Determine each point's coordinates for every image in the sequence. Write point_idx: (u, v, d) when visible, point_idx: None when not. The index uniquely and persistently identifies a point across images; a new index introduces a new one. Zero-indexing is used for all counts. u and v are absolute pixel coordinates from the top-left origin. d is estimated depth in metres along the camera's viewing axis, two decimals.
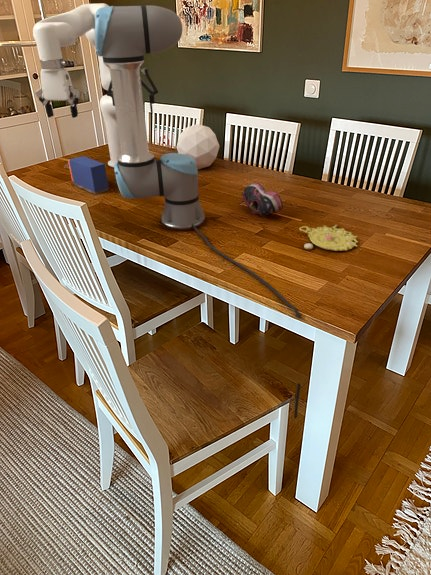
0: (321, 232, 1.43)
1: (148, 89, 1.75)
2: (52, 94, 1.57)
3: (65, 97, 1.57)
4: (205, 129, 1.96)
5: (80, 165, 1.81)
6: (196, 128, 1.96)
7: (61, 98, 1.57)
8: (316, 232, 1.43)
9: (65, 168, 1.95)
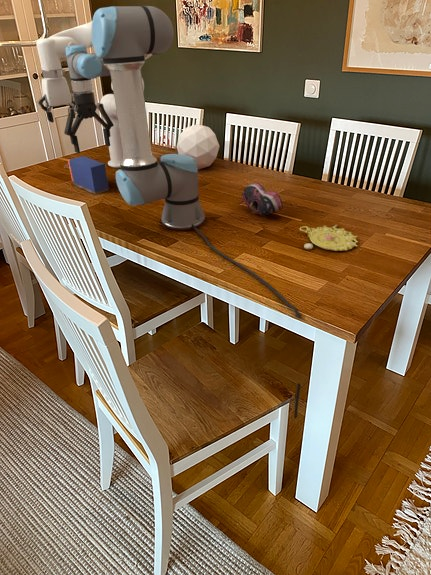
0: (321, 232, 1.43)
1: (105, 123, 1.76)
2: (58, 100, 1.77)
3: (69, 101, 1.80)
4: (205, 129, 1.96)
5: (80, 165, 1.81)
6: (196, 128, 1.96)
7: (65, 102, 1.79)
8: (316, 232, 1.43)
9: (65, 168, 1.95)
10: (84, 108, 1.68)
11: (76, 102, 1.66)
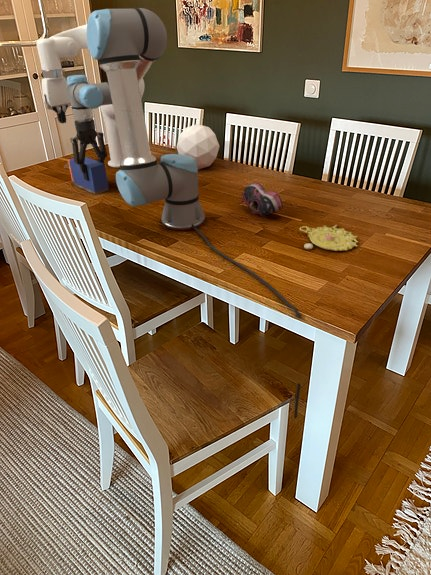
0: (321, 232, 1.43)
1: (100, 153, 1.80)
2: (58, 100, 1.78)
3: (69, 100, 1.81)
4: (205, 129, 1.96)
5: None
6: (196, 128, 1.96)
7: (65, 102, 1.80)
8: (316, 232, 1.43)
9: (65, 168, 1.95)
10: (85, 134, 1.72)
11: (77, 129, 1.70)
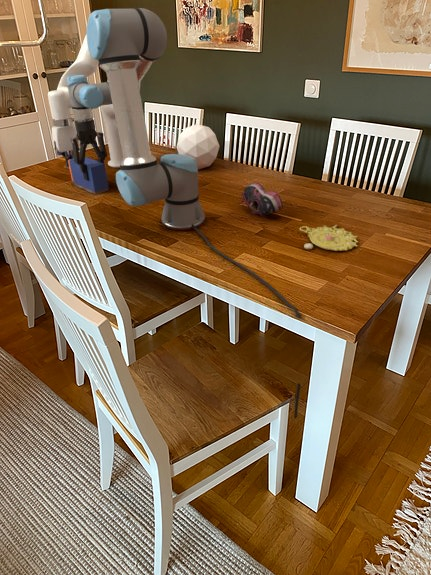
0: (321, 232, 1.43)
1: (100, 153, 1.80)
2: (66, 146, 1.87)
3: None
4: (205, 129, 1.96)
5: None
6: (196, 128, 1.96)
7: None
8: (316, 232, 1.43)
9: (65, 168, 1.95)
10: (85, 134, 1.72)
11: (77, 129, 1.70)
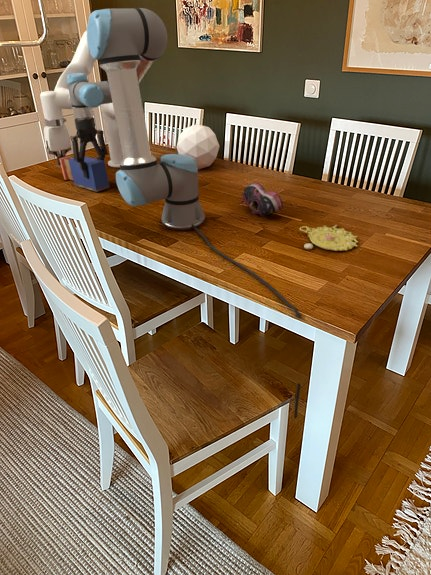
0: (321, 232, 1.43)
1: (100, 151, 1.80)
2: (58, 146, 1.91)
3: (69, 146, 1.95)
4: (205, 129, 1.96)
5: None
6: (196, 128, 1.96)
7: (65, 147, 1.94)
8: (316, 232, 1.43)
9: (57, 167, 1.99)
10: (85, 132, 1.73)
11: (77, 127, 1.70)
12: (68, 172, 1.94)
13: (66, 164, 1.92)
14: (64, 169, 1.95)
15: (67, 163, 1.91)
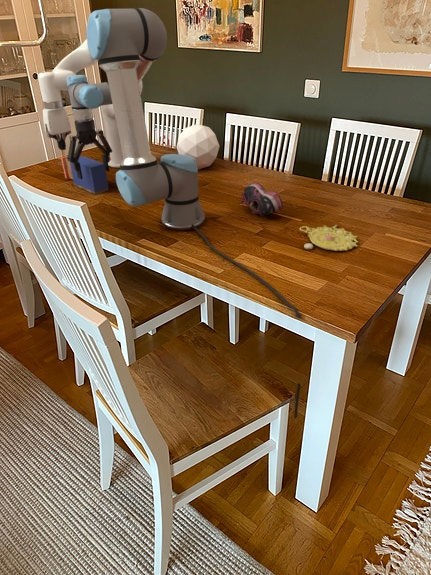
0: (321, 232, 1.43)
1: (104, 149, 1.81)
2: (58, 129, 1.87)
3: (68, 129, 1.91)
4: (205, 129, 1.96)
5: (80, 165, 1.81)
6: (196, 128, 1.96)
7: (65, 130, 1.90)
8: (316, 232, 1.43)
9: (58, 165, 1.98)
10: (85, 134, 1.72)
11: (77, 129, 1.70)
12: (69, 171, 1.94)
13: (67, 163, 1.92)
14: (65, 168, 1.95)
15: (68, 162, 1.91)
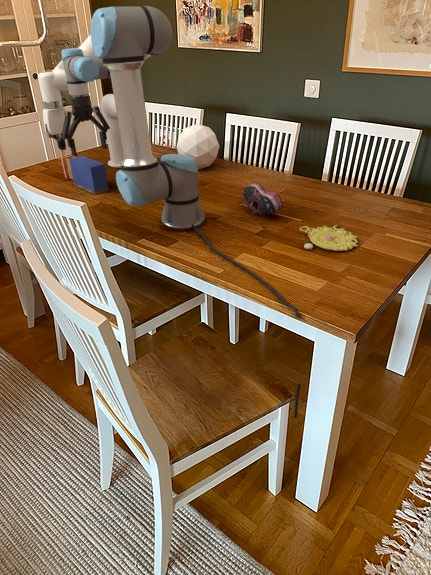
0: (321, 232, 1.43)
1: (101, 126, 1.76)
2: (58, 129, 1.87)
3: None
4: (205, 129, 1.96)
5: (80, 165, 1.81)
6: (196, 128, 1.96)
7: None
8: (316, 232, 1.43)
9: (58, 165, 1.98)
10: (80, 111, 1.68)
11: (73, 105, 1.66)
12: (69, 171, 1.94)
13: (67, 163, 1.92)
14: (65, 168, 1.95)
15: (68, 162, 1.91)
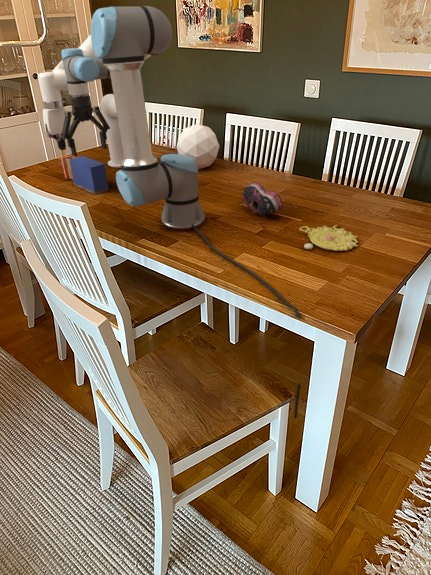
0: (321, 232, 1.43)
1: (101, 126, 1.76)
2: (58, 129, 1.87)
3: None
4: (205, 129, 1.96)
5: (80, 165, 1.81)
6: (196, 128, 1.96)
7: None
8: (316, 232, 1.43)
9: (58, 165, 1.98)
10: (80, 110, 1.68)
11: (73, 105, 1.66)
12: (69, 171, 1.94)
13: (67, 163, 1.92)
14: (65, 168, 1.95)
15: (68, 162, 1.91)
